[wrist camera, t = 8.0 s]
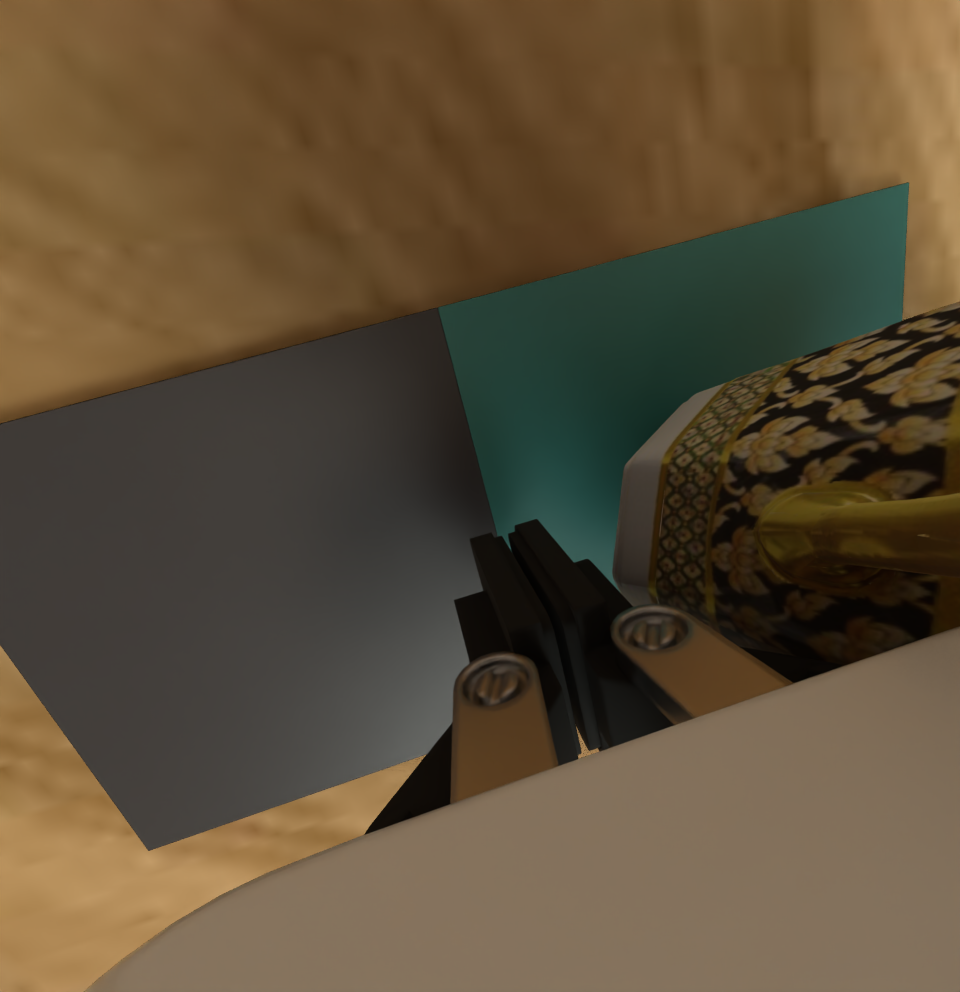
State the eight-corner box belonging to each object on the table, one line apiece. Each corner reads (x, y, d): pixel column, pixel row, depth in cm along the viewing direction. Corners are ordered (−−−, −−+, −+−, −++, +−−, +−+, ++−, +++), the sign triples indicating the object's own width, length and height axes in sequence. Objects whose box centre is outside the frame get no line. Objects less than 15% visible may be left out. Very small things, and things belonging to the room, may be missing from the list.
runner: (-125, 457, 10) (-134, 459, 10) (901, 184, 12) (909, 181, 12) (151, 844, 14) (148, 851, 14) (883, 590, 16) (888, 593, 16)
